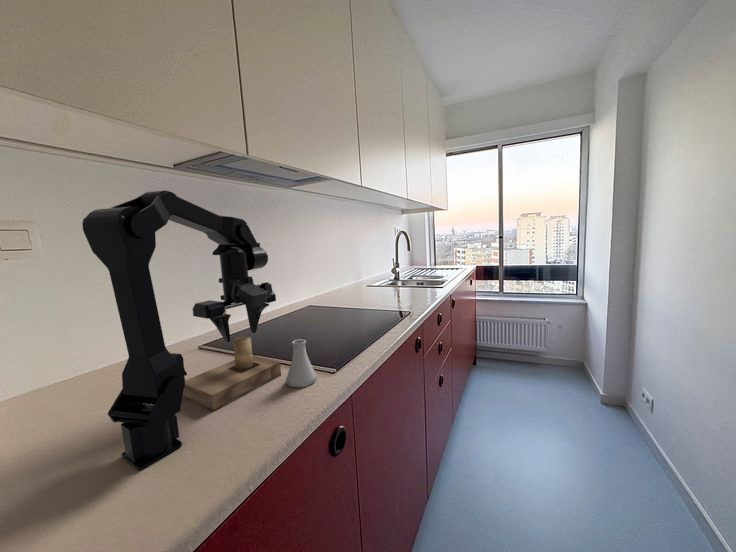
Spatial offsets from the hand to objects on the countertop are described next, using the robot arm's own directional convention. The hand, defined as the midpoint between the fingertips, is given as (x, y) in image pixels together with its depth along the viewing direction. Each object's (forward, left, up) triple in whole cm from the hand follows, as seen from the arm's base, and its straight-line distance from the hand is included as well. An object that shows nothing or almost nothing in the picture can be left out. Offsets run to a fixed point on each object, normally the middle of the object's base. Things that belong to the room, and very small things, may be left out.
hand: (241, 337), depth 74 cm
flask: (+6, -13, -11) cm, 18 cm away
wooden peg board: (-3, 0, -11) cm, 11 cm away
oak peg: (0, 0, -10) cm, 11 cm away
